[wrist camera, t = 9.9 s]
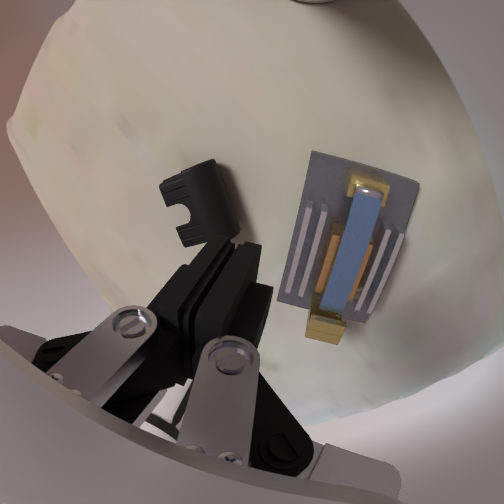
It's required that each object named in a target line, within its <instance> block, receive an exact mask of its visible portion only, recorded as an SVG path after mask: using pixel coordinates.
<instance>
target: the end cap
mask: <svg viewBox="0 0 504 504" xmlns="http://www.w3.org/2000/svg"><path fill="white" fill-rule="evenodd" d="M159 189H160V191H161V194H162V196H163V199H164V201H165V204H166V206H167V207H169V206H172V205H175V204H183V205H185V206H186V207H187V208H188V209H189V211H190V213H191V216H190V217H191V219H190V221H189V223H187V224H184V225H181V226H178V227H176V230H177V232H178V235H179V237H180V239H181V241H182V244H183V246H184V247H190V246H194V245H198V244H202V243H206V242H208V241H209V240H210V238H211V237H212V236H213V235H214V234H215V235H220V236H224V237H228V238H230V240H231V239H232V238H234V237H235V236H236V235H238V233H239V232H240V226H239V223H238V221H237V218H236V215H235V213H234V210H233V207H232V204H231V202H230V199H229V196H228V194H227V191H226V188H225V186H224V183H223V180H222V178H221V175H220V172H219V169H218V167H217V164H216V161H215V160H214V159H210V160H207V161H205V162H202V163H200V164H197V165H195V166H192V167H190V168H188V169H185V170H183V171H181V173H179V174H177V175H174V176H172V177H170V178H168V179H166V180H164V181H163V183H161V184H160V185H159Z"/></svg>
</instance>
